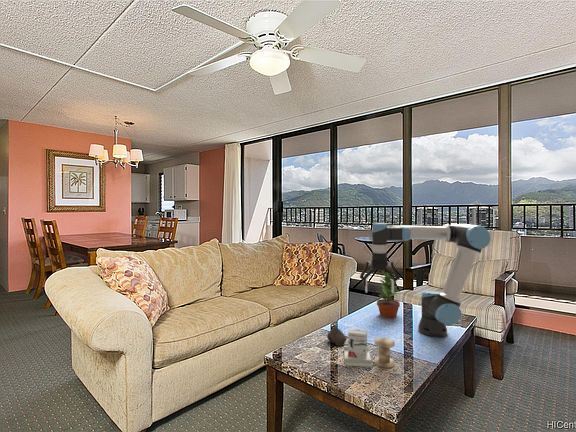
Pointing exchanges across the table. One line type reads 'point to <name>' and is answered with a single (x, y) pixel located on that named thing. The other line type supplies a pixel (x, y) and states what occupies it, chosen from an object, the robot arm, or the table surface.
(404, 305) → the table surface
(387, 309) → the potted plant
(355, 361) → the notch board
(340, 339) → the stone
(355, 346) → the ink box
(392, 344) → the beige door knob
